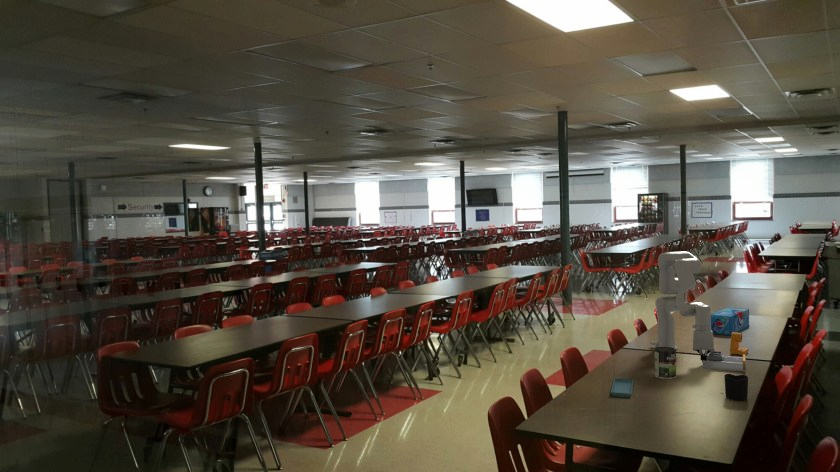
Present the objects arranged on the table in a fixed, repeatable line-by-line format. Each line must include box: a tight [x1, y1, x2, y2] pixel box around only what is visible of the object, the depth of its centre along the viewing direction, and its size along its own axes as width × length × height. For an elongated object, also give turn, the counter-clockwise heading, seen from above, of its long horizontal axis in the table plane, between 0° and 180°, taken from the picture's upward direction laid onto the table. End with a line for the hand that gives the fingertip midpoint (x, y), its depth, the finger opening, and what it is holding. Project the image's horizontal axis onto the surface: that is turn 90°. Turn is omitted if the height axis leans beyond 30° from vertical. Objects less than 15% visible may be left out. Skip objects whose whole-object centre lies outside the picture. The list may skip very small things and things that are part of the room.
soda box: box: [711, 306, 750, 336], centre depth 427 cm, size 40×14×13 cm, turn 137°
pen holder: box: [724, 373, 749, 402], centre depth 280 cm, size 9×9×10 cm
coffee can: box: [654, 347, 677, 380], centre depth 319 cm, size 10×10×14 cm
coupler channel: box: [702, 354, 747, 373], centre depth 334 cm, size 20×14×6 cm
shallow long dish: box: [610, 377, 634, 398], centre depth 299 cm, size 26×9×2 cm, turn 160°
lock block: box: [708, 351, 723, 361], centre depth 335 cm, size 6×9×7 cm
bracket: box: [729, 332, 749, 356], centre depth 360 cm, size 11×7×12 cm, turn 139°
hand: (703, 361), depth 338 cm, fingers closed
